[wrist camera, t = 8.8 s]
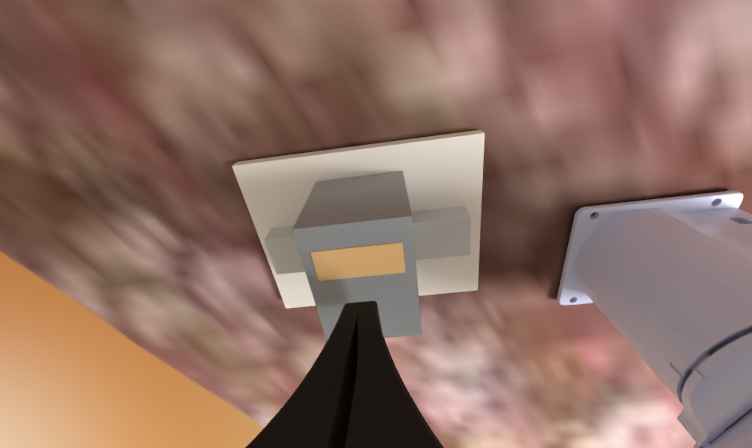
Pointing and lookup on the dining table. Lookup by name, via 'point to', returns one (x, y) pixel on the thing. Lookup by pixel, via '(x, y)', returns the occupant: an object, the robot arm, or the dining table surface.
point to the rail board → (425, 193)
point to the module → (361, 250)
